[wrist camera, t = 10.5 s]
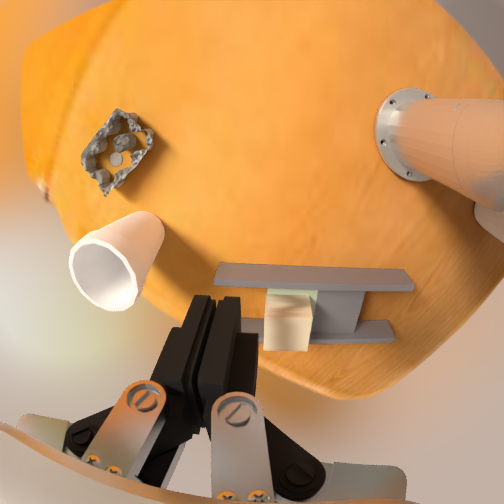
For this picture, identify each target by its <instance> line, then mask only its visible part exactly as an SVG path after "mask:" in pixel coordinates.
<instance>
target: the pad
mask: <svg viewBox="0 0 504 504" xmlns="http://www.w3.org/2000/svg"><path fill="white" fill-rule="evenodd" d="M267 294H277V295H309V297H310V304H311V310H312V317H314V312H315V306H316V300H317V294H318V290H298V289H272V288H267ZM312 323H313V320H312ZM311 328H312V326H311ZM310 333H311V332H310Z"/></svg>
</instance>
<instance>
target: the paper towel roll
mask: <svg viewBox="0 0 504 504" xmlns="http://www.w3.org/2000/svg"><path fill="white" fill-rule="evenodd" d="M474 214H475V219H476V220H477V222H478V223H479V224H480V225H481V227H483V228H484V229H485V230H487V231H488V232H489V233H491V234H492V235H493V236H495V237H496V238H497V239H499V240H500V241H501V242H502V243H504V212H497V211H493V210H490V209H487V208H485V207H483V206H481V205H480V204H478V203H475V208H474Z"/></svg>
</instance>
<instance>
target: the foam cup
mask: <svg viewBox="0 0 504 504" xmlns="http://www.w3.org/2000/svg"><path fill="white" fill-rule="evenodd" d="M164 238H165V230H164V226H163V224H162V222H161V220H160V219H159V218H158V217H157V216H155V215H154V214H153V213H151V212H147V211H138V212H135V213H132V214H130V215H128V216H126V217H123V218H121V219H119V220H117V221H115V222H113V223H111V224H109V225H107V226H105V227H103V228H101V229H99V230H96V231H91V232H89V233H88V234H87V235H86V236H84V237H83V238H82V239H80V240H79V241H78V242H77V244H76V245H75V246H74V247H73V248H72V249H71V252H70V258H69V268H70V272H71V276H72V279H73V281H74V283H75V284H76V286H77V287H78V289H79V290H80V292H81V293H82V294H83V295H84V296H85V297H86V298H87V299H88V300H89V301H91V302H92V303H93V304H94V305H96V306H98V307H101V308H103V309H105V310H108V311H124V310H125V309H127V308H128V307H130V306H132V305H133V304H134V303H135V301H136V300H137V298H138V297H139V295H140V294H141V292H142V289H143V287H144V284H145V282H146V277H147V275H148V273H149V270H150V268H151V266H152V264H153V262H154V260H155V258H156V255H157V253H158V251H159V249H160V247H161V245H162V243H163V240H164Z"/></svg>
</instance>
